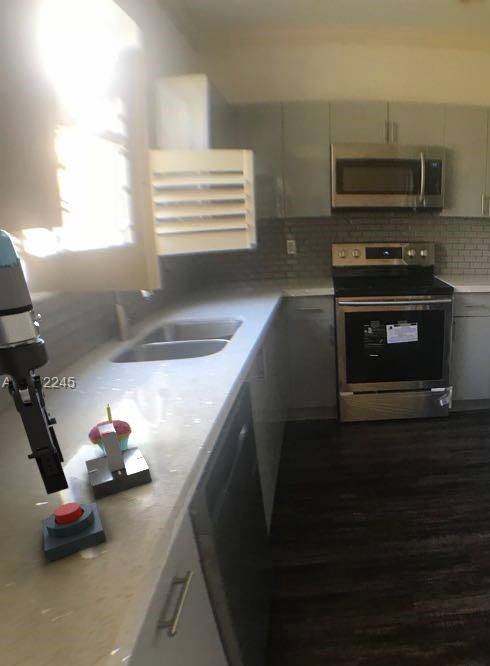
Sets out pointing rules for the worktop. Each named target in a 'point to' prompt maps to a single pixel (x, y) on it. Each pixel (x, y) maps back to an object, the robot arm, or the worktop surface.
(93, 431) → the cupcake
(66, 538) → the button box
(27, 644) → the worktop surface
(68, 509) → the button
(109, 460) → the hob knob
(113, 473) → the plate
